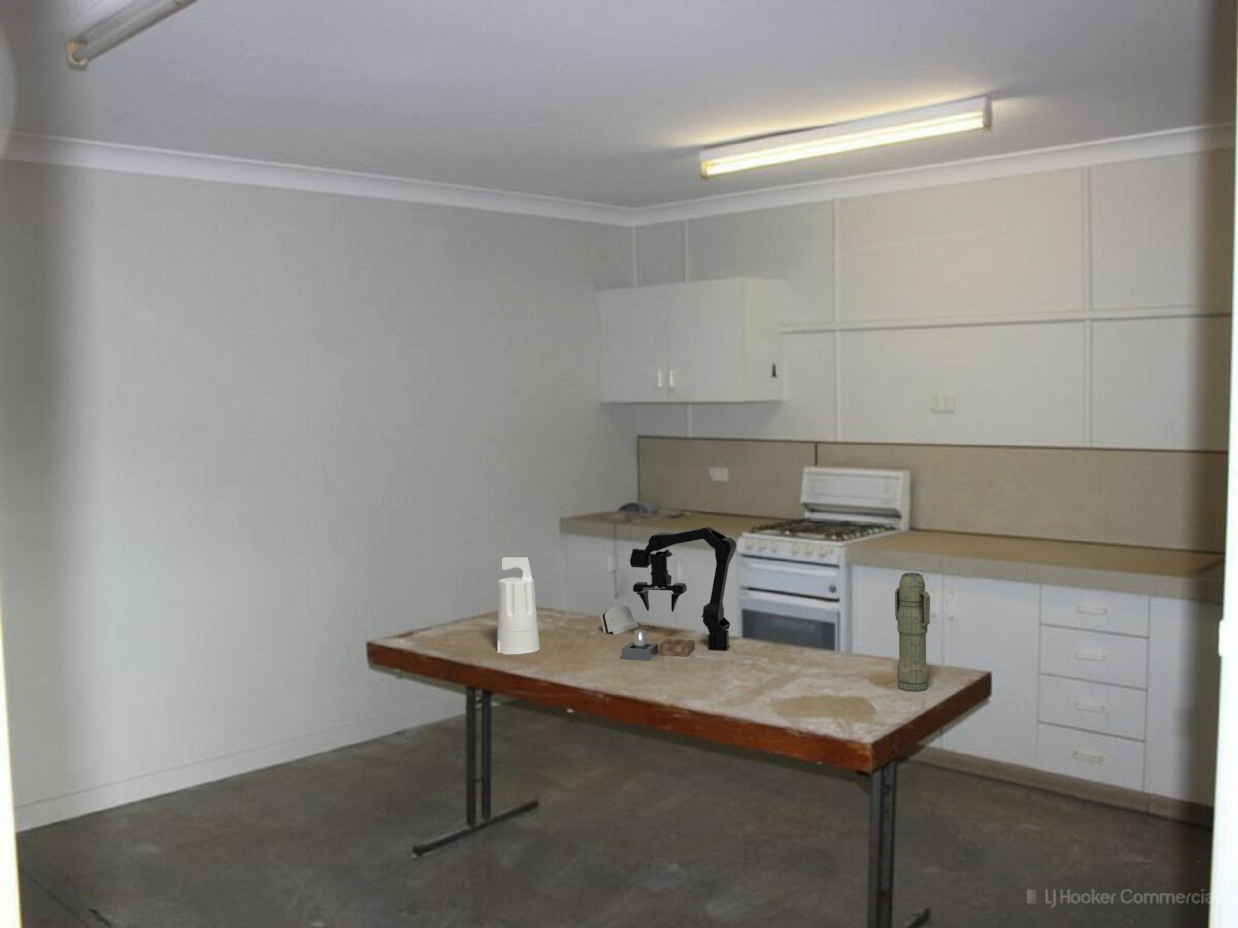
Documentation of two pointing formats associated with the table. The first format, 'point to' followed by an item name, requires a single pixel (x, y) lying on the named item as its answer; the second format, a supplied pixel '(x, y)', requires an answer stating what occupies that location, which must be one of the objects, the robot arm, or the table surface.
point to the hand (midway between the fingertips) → (660, 611)
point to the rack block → (640, 652)
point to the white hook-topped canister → (517, 610)
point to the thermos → (912, 632)
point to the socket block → (676, 647)
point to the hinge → (617, 620)
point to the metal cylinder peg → (640, 639)
